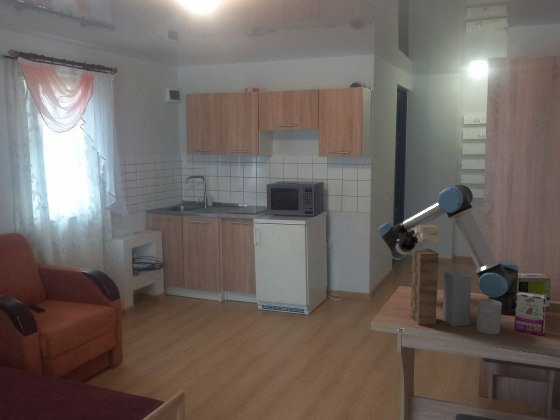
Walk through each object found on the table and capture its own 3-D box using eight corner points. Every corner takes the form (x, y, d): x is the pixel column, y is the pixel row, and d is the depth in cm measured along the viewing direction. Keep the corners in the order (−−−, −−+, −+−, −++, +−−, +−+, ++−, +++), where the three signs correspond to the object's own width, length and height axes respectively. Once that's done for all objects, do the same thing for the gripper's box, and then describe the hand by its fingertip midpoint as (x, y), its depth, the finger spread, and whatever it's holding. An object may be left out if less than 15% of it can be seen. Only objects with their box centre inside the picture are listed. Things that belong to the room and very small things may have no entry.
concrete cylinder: (505, 331, 220) (506, 303, 218) (490, 335, 215) (491, 307, 213) (486, 324, 228) (487, 297, 226) (471, 328, 223) (472, 301, 222)
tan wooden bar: (406, 234, 242) (406, 219, 241) (420, 233, 243) (421, 219, 242) (422, 242, 223) (422, 227, 222) (437, 242, 223) (438, 226, 222)
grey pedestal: (442, 318, 236) (444, 271, 233) (459, 317, 237) (461, 270, 234) (451, 326, 226) (453, 277, 223) (469, 325, 227) (471, 276, 224)
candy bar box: (544, 332, 219) (547, 295, 216) (542, 336, 214) (545, 298, 212) (515, 327, 225) (518, 290, 222) (513, 330, 221) (516, 293, 218)
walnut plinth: (410, 317, 238) (412, 249, 233) (427, 316, 239) (429, 248, 234) (418, 324, 228) (420, 254, 223) (435, 324, 229) (438, 253, 224)
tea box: (541, 301, 259) (543, 272, 257) (549, 307, 250) (551, 278, 247) (510, 300, 261) (511, 272, 259) (517, 307, 251) (519, 277, 249)
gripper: (422, 251, 254) (440, 236, 232) (390, 252, 252) (405, 237, 230) (420, 237, 256) (437, 220, 235) (388, 238, 255) (403, 221, 233)
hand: (421, 228), depth 233 cm, fingers closed on tan wooden bar, 3 cm apart
